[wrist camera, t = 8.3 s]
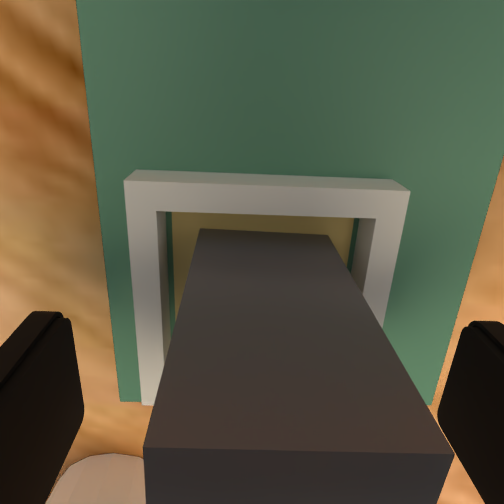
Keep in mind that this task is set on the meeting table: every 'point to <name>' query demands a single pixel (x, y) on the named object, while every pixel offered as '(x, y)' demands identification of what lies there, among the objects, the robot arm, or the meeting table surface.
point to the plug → (285, 386)
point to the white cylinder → (102, 481)
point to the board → (294, 152)
